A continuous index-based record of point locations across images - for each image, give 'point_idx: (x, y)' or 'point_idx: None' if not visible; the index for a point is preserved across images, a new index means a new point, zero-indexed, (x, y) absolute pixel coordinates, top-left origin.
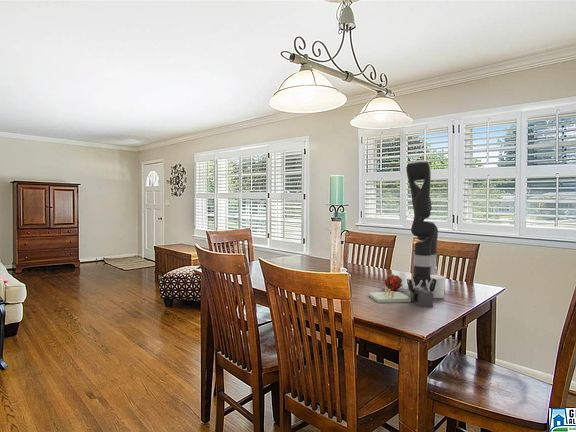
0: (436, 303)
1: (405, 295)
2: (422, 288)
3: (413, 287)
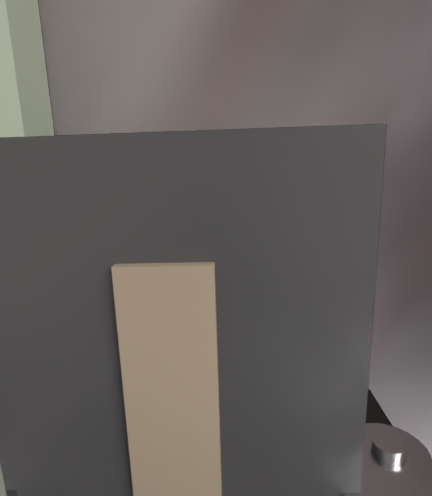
0: (419, 403)
1: (15, 108)
2: (314, 416)
3: (37, 263)
